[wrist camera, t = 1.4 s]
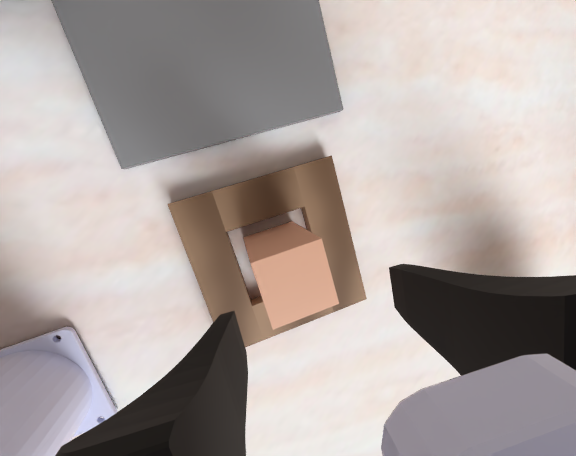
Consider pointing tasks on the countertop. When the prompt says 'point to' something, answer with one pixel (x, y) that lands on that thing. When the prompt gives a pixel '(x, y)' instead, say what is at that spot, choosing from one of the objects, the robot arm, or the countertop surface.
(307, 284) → the terracotta block
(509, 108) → the countertop surface
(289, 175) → the walnut pocket plate
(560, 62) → the countertop surface
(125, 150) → the slate mat
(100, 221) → the countertop surface
